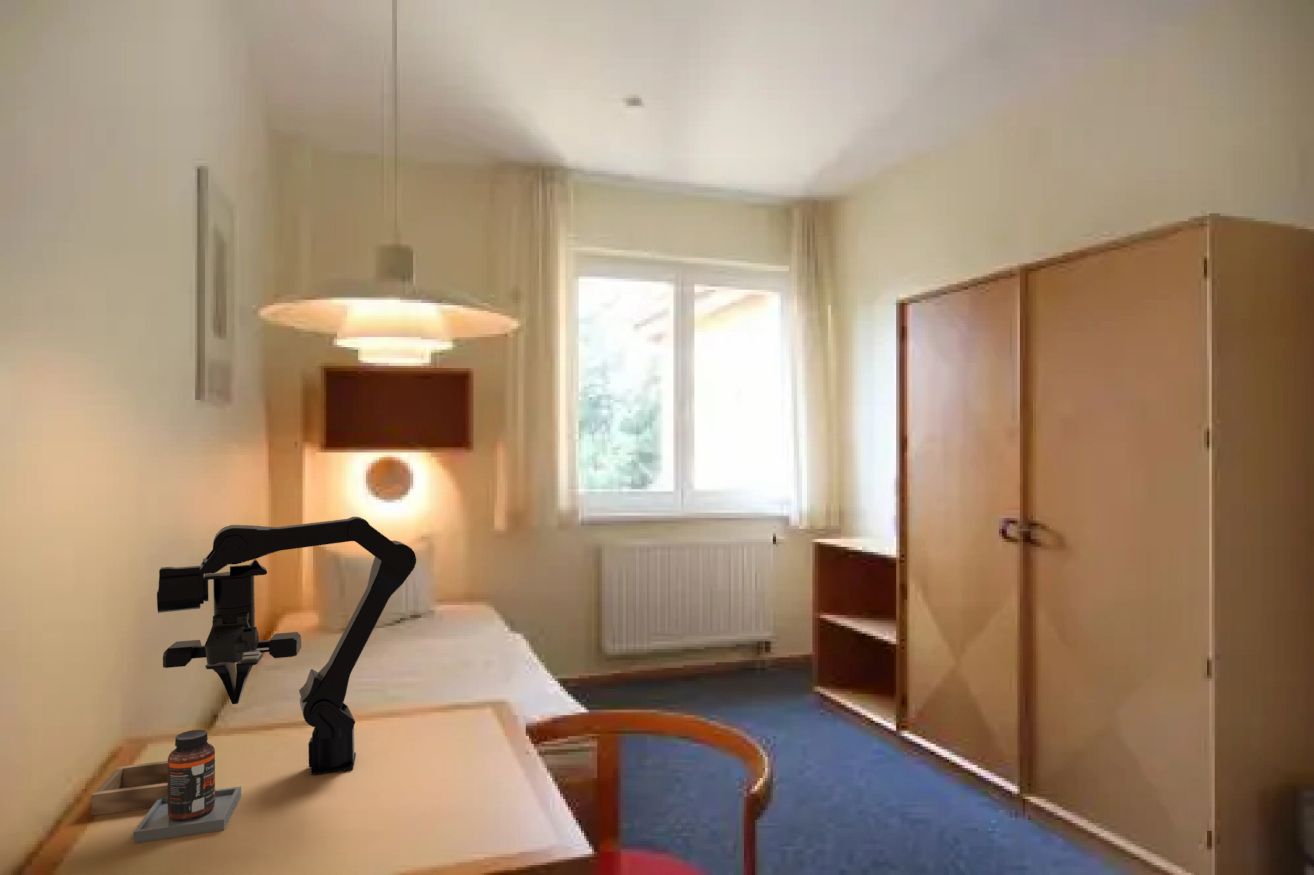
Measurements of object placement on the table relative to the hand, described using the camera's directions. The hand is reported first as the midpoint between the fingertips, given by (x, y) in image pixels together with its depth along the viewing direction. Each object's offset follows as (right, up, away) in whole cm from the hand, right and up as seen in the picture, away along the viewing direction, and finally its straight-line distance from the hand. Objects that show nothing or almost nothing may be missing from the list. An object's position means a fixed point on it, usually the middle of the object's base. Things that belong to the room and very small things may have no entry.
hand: (235, 703), depth 123 cm
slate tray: (-1, -13, -11) cm, 17 cm away
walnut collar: (-13, -13, -3) cm, 18 cm away
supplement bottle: (-1, -12, -11) cm, 16 cm away
